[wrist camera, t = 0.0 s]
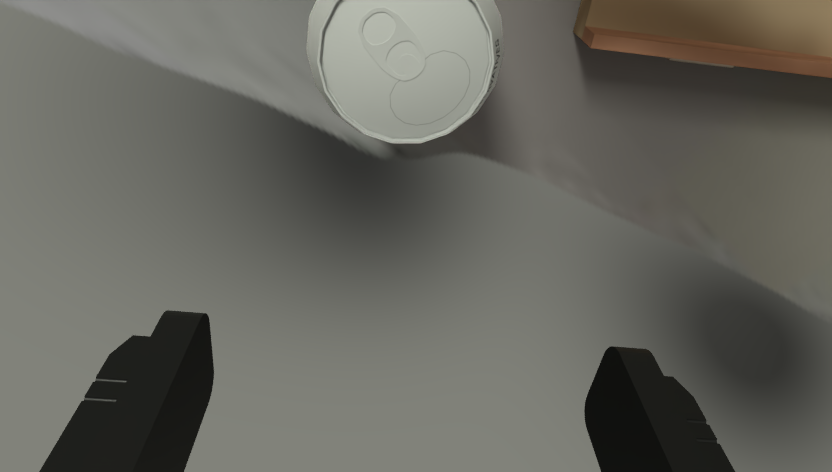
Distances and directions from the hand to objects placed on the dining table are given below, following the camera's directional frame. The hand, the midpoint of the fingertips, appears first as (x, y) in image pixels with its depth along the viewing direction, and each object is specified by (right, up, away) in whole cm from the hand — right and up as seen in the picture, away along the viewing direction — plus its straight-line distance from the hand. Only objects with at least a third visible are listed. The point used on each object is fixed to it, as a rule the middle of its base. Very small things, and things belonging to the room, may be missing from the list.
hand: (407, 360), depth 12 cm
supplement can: (-1, +18, +24) cm, 30 cm away
